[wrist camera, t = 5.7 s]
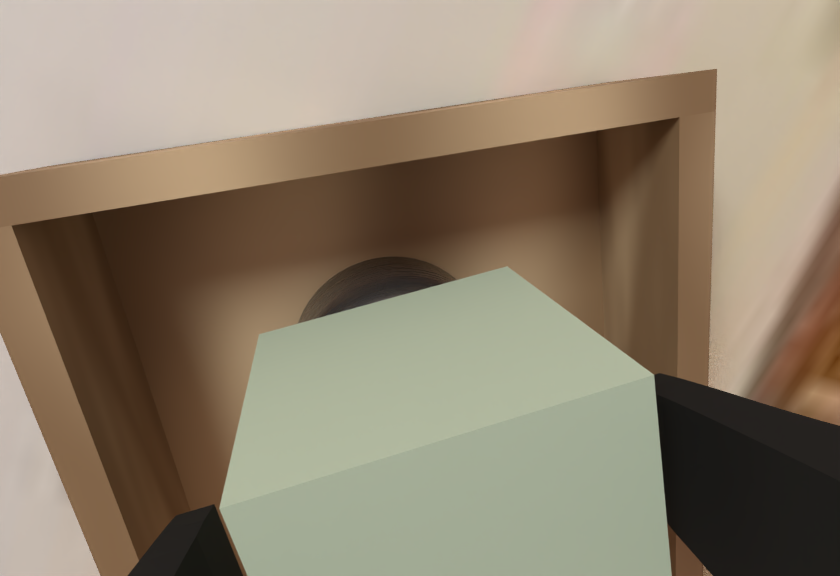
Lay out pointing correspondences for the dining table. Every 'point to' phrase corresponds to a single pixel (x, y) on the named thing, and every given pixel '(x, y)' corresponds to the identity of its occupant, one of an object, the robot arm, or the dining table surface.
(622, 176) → the wooden tray
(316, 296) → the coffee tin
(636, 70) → the dining table surface
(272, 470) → the pale green cube
